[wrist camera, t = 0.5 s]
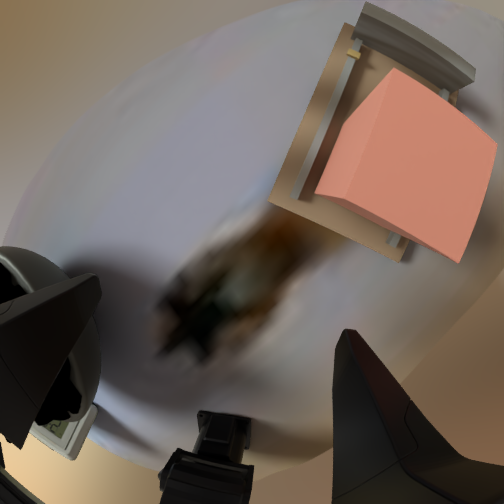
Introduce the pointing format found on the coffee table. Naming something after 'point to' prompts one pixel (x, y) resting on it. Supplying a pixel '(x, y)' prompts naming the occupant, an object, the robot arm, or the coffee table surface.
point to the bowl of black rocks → (83, 353)
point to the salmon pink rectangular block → (411, 165)
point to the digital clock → (65, 434)
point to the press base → (347, 101)
